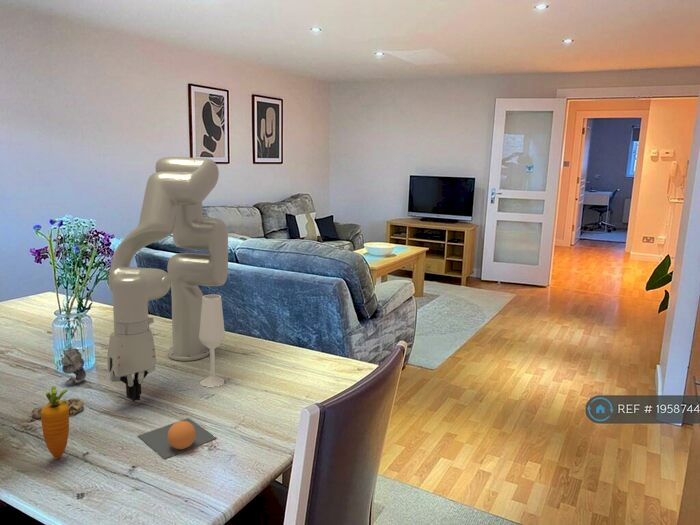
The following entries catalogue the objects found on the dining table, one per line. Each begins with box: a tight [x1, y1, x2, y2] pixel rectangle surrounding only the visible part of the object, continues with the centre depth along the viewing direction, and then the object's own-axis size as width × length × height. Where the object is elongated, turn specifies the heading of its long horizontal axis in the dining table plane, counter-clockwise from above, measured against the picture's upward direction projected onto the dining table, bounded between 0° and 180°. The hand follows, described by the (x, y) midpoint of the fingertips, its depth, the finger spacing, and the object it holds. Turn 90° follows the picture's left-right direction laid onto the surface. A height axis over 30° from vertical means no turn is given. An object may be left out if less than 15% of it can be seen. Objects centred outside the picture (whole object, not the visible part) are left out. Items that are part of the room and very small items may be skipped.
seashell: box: [60, 346, 87, 385], centre depth 135 cm, size 5×5×10 cm
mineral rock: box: [31, 398, 85, 420], centre depth 120 cm, size 11×4×8 cm
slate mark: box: [137, 417, 218, 460], centre depth 111 cm, size 12×12×1 cm
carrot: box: [40, 385, 70, 460], centre depth 100 cm, size 5×5×15 cm
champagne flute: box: [199, 294, 226, 387], centre depth 138 cm, size 7×7×24 cm
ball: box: [167, 420, 196, 449], centre depth 107 cm, size 6×6×6 cm
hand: (134, 398), depth 125 cm, fingers closed
